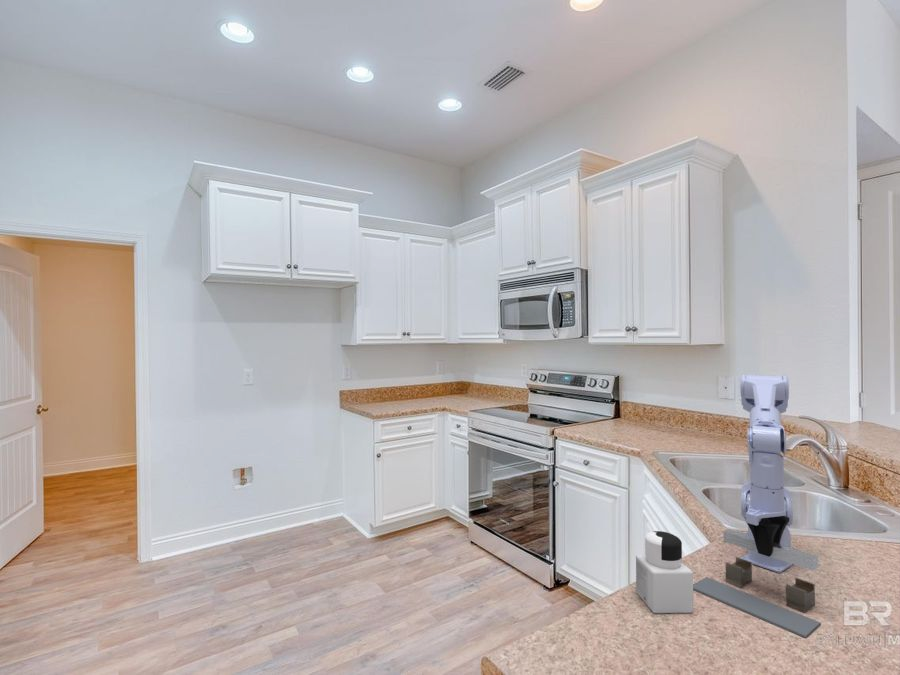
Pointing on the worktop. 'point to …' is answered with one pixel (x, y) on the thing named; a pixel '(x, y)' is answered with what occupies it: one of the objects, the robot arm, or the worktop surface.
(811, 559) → the rail
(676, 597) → the lidar sensor
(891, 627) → the worktop surface
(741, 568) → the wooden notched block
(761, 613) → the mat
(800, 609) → the post
